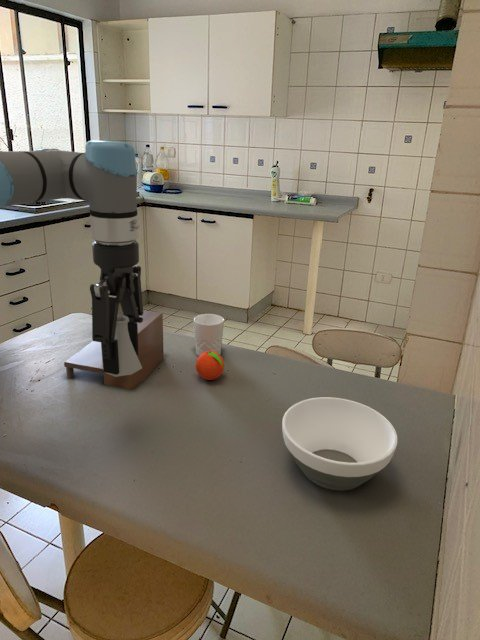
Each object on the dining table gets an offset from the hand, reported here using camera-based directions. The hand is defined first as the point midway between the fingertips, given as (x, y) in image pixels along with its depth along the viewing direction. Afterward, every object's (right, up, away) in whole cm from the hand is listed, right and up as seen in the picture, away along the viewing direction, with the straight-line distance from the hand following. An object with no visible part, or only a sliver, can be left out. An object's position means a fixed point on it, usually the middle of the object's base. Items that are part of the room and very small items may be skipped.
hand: (121, 362), depth 86 cm
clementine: (+15, -7, +27) cm, 32 cm away
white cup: (+13, -1, +40) cm, 42 cm away
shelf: (-8, -4, +29) cm, 31 cm away
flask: (0, -1, +1) cm, 1 cm away
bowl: (+39, -20, -2) cm, 43 cm away
